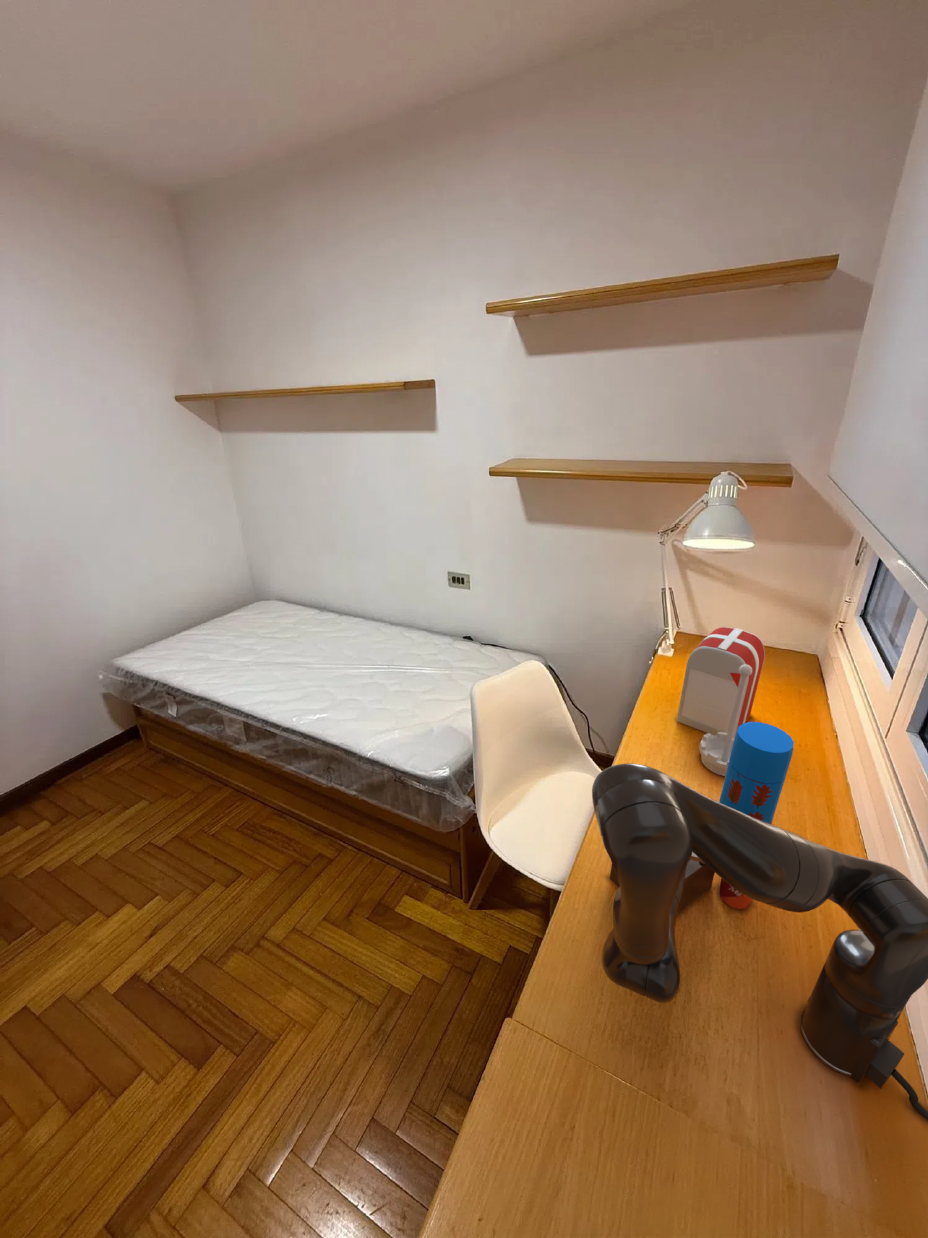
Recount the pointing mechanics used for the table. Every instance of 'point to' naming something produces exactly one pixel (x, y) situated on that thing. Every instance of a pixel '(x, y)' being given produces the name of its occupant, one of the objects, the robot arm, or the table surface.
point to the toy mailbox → (720, 680)
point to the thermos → (757, 770)
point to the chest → (687, 885)
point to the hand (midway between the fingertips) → (674, 809)
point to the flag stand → (720, 745)
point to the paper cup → (733, 896)
